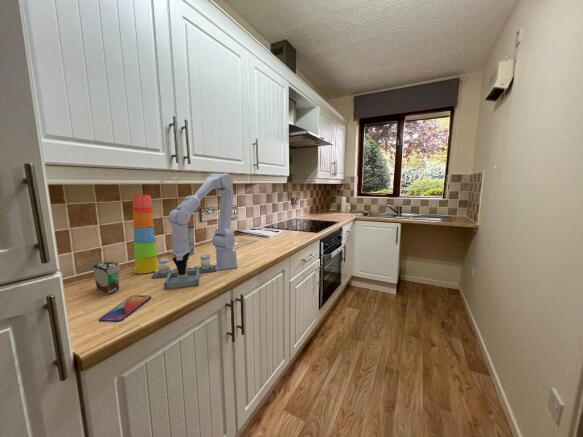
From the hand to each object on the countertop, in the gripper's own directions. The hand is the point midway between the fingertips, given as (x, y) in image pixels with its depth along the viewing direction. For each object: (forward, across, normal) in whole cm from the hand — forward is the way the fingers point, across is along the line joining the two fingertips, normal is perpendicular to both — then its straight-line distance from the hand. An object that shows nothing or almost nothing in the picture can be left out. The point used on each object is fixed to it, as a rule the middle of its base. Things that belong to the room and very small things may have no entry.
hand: (182, 272), depth 99 cm
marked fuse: (+2, 0, 0) cm, 2 cm away
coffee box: (+4, -39, -3) cm, 39 cm away
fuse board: (+4, -11, 0) cm, 12 cm away
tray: (+4, 0, 0) cm, 4 cm away
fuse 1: (+3, -11, -8) cm, 14 cm away
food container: (+4, -1, -25) cm, 25 cm away
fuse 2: (+3, -11, +8) cm, 14 cm away
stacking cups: (+4, -19, -17) cm, 26 cm away
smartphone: (+5, +17, -15) cm, 23 cm away
